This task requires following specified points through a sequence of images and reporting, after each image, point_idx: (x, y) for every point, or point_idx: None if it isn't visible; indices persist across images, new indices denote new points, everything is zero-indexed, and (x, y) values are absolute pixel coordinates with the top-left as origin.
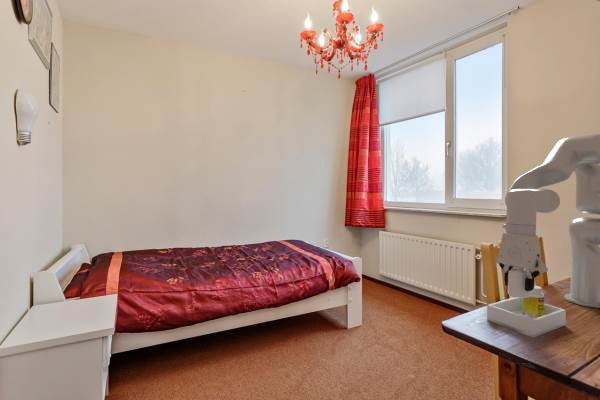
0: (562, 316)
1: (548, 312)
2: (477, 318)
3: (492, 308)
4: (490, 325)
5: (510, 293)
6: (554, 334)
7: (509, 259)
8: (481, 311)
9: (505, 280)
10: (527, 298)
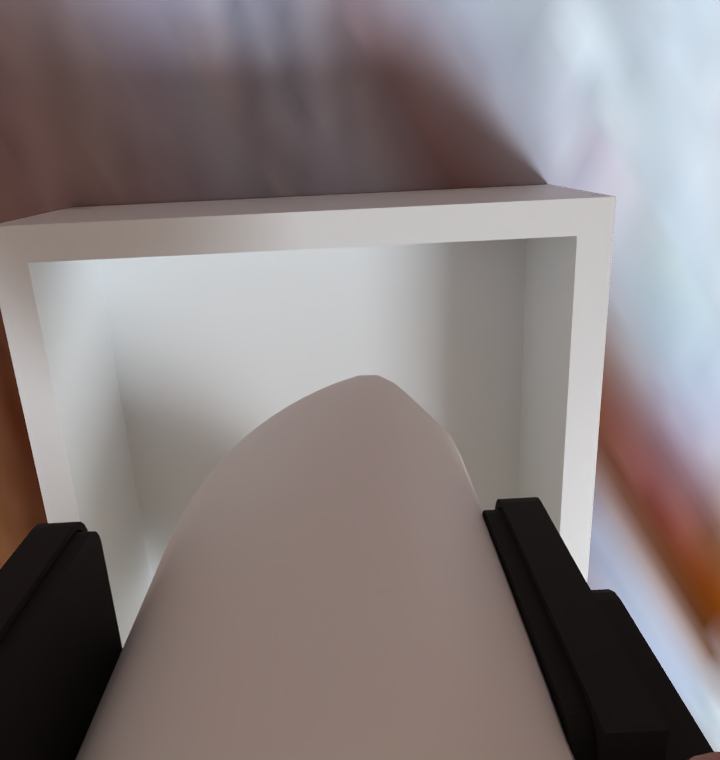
0: None
1: None
2: (628, 119)
3: (529, 196)
4: (442, 78)
5: (355, 383)
6: None
7: None
8: (709, 345)
9: (562, 554)
10: None
